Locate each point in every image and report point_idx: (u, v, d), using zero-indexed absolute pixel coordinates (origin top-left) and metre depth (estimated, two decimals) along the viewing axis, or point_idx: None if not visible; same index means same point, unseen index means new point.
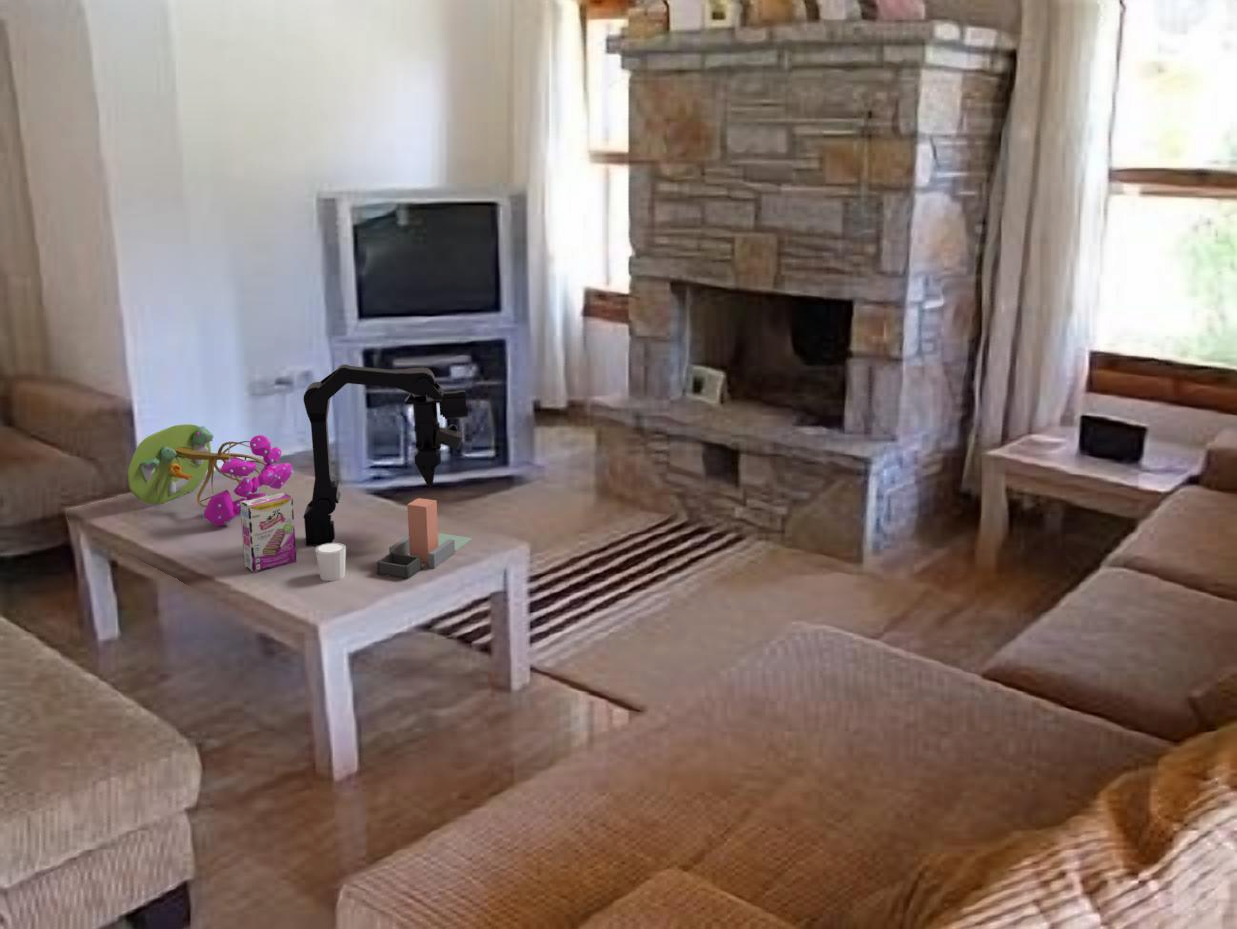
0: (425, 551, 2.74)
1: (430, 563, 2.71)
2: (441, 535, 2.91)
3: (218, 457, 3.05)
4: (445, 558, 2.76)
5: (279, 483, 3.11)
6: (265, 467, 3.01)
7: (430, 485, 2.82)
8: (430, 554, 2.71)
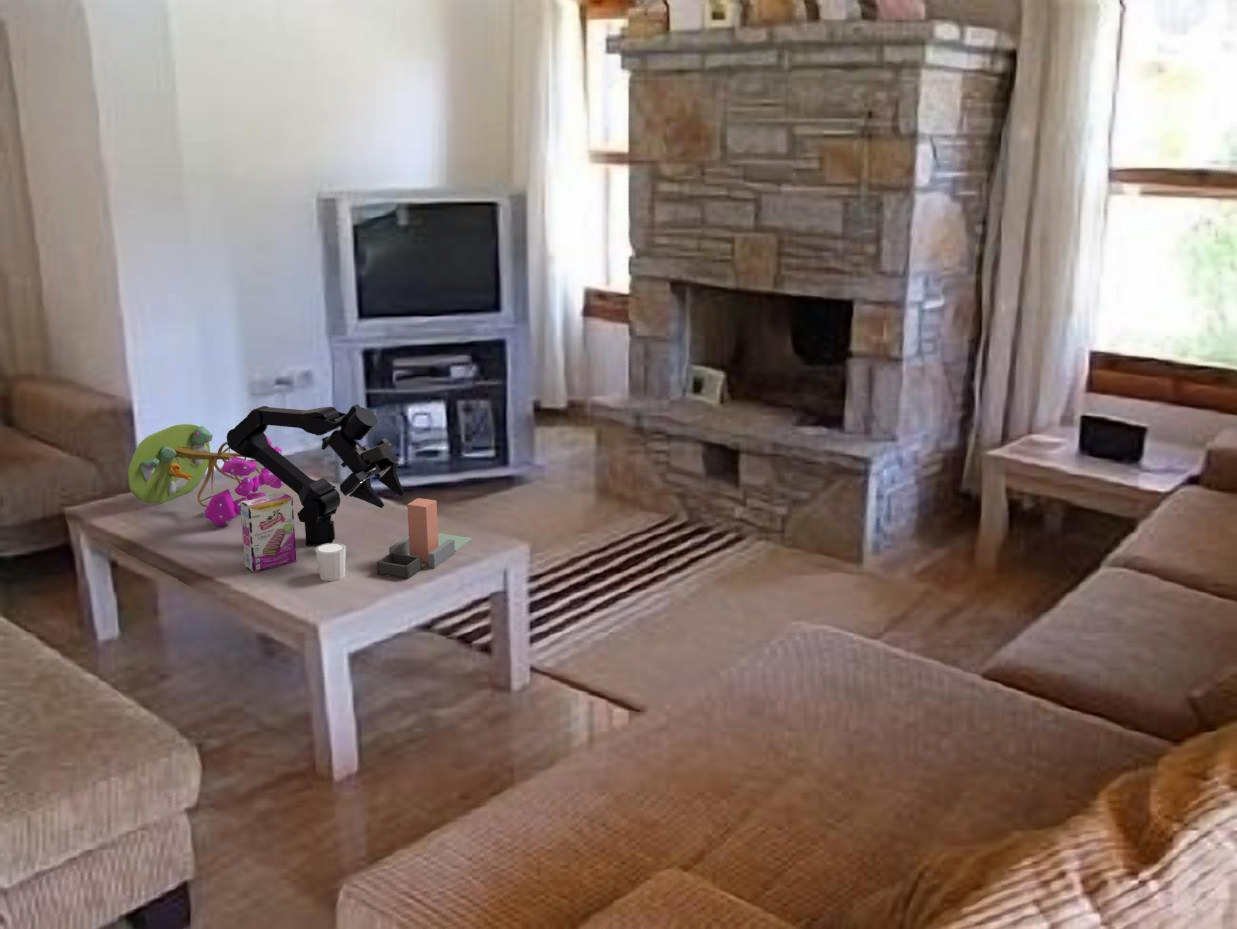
0: (425, 551, 2.74)
1: (430, 563, 2.71)
2: (441, 535, 2.91)
3: (218, 457, 3.05)
4: (445, 558, 2.76)
5: (279, 482, 3.11)
6: None
7: (381, 505, 2.72)
8: (430, 554, 2.71)
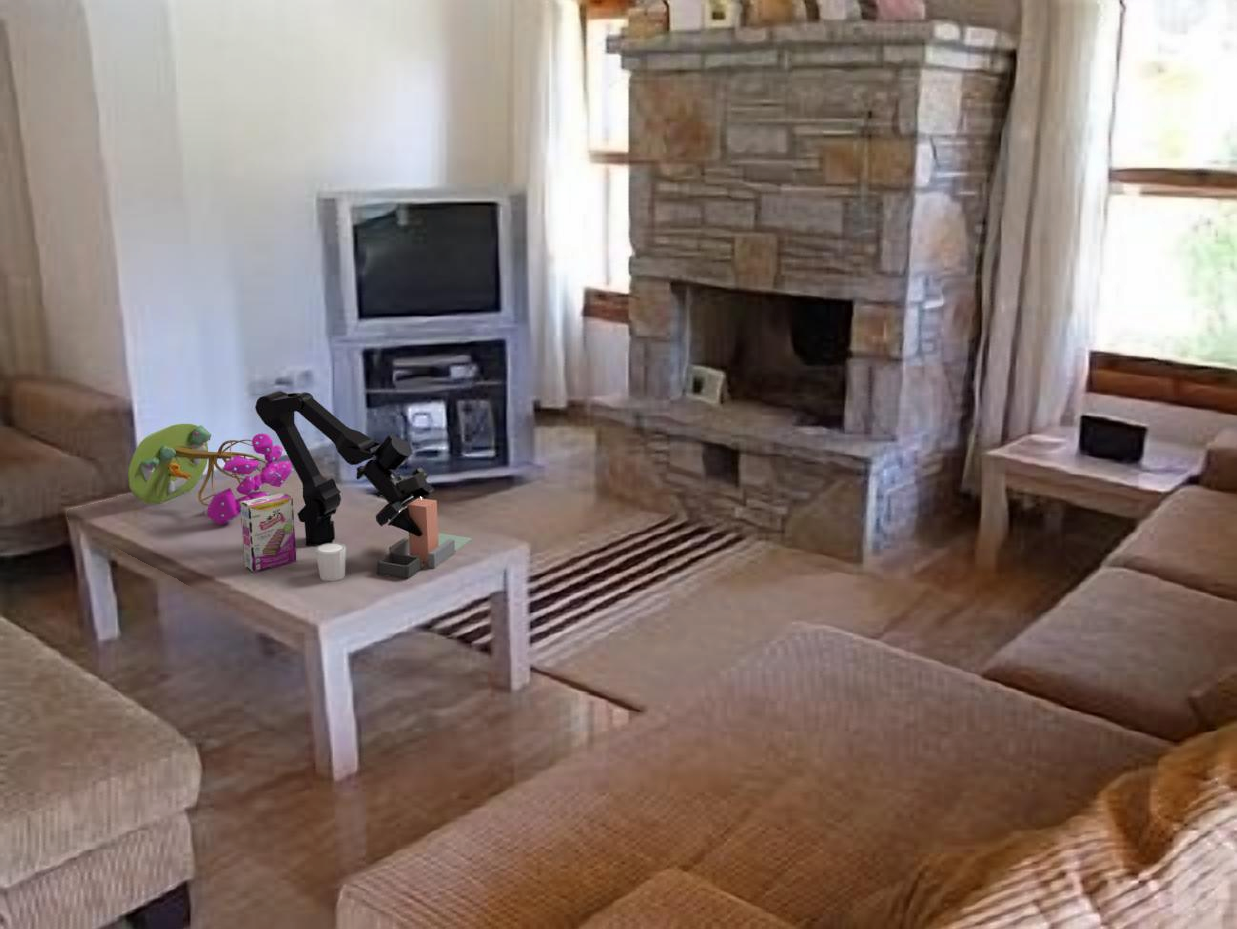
0: (425, 551, 2.74)
1: (430, 563, 2.71)
2: (441, 535, 2.91)
3: (218, 456, 3.06)
4: (445, 558, 2.76)
5: (279, 481, 3.12)
6: (266, 465, 3.03)
7: (419, 534, 2.72)
8: (430, 554, 2.71)
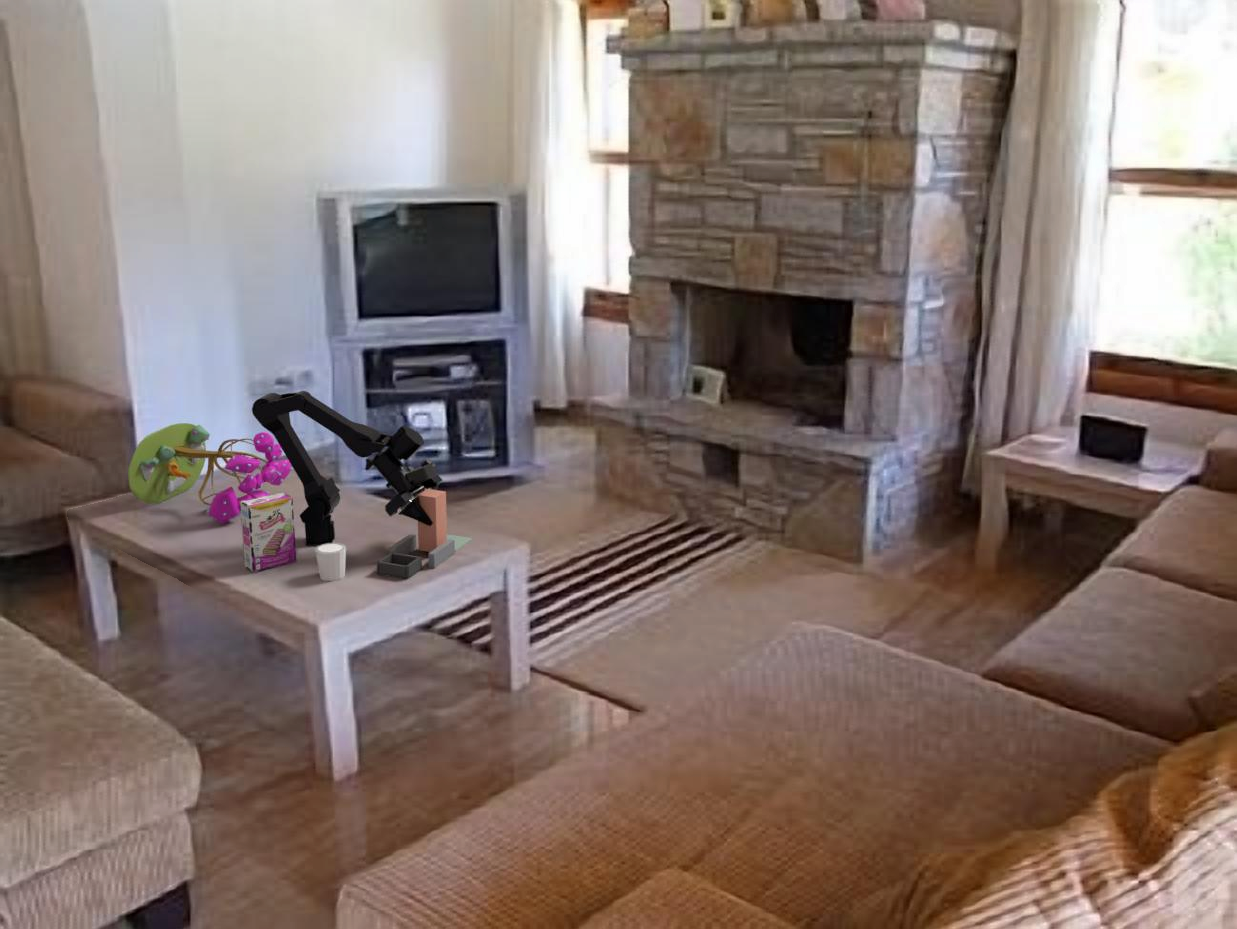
0: (434, 541, 2.77)
1: (430, 563, 2.71)
2: None
3: (218, 455, 3.07)
4: (445, 558, 2.76)
5: (279, 480, 3.13)
6: (267, 464, 3.04)
7: (429, 523, 2.76)
8: (430, 554, 2.71)
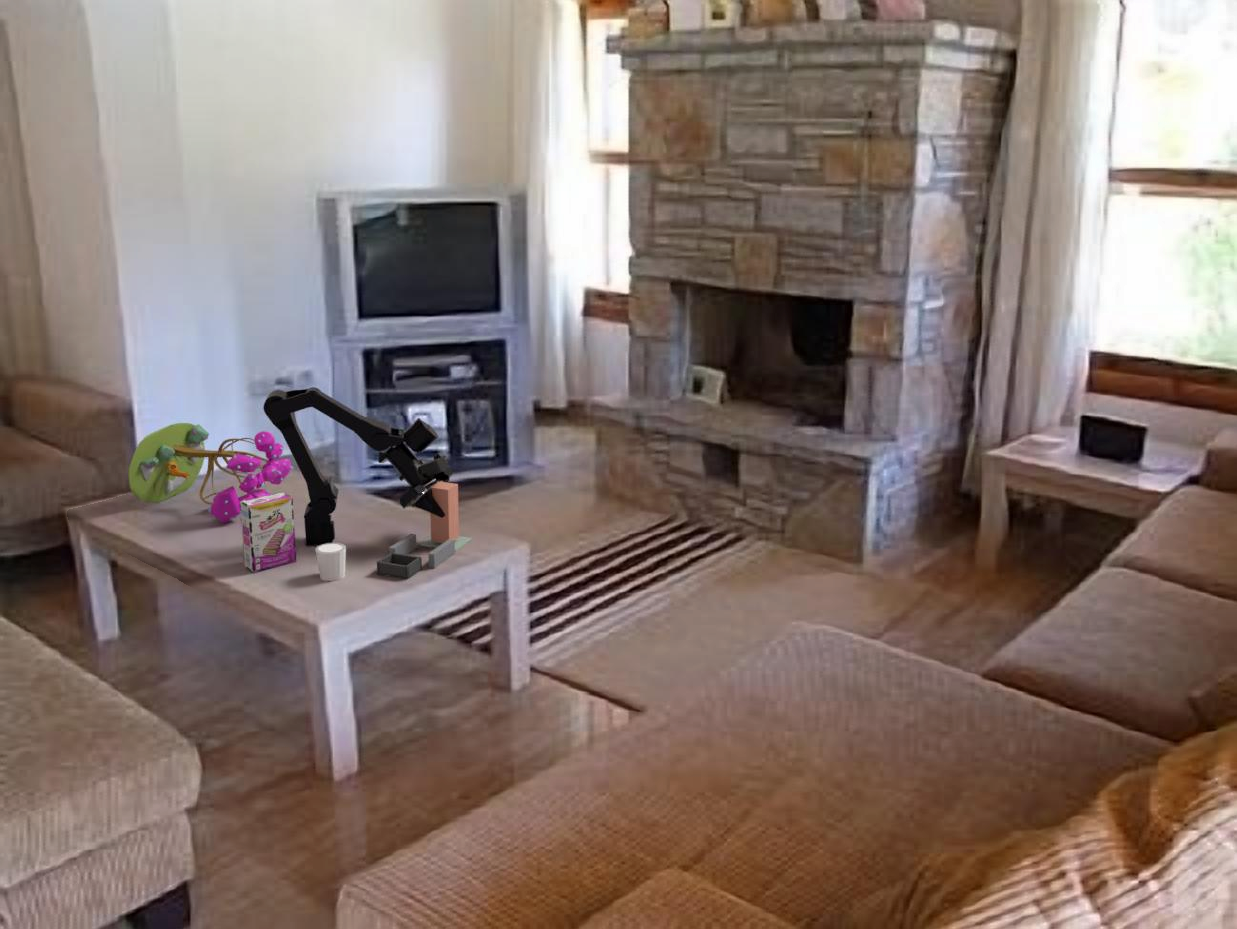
0: (446, 533, 2.83)
1: (430, 563, 2.71)
2: None
3: (219, 454, 3.07)
4: (445, 558, 2.76)
5: (279, 479, 3.14)
6: (268, 463, 3.05)
7: (442, 515, 2.81)
8: (430, 554, 2.71)
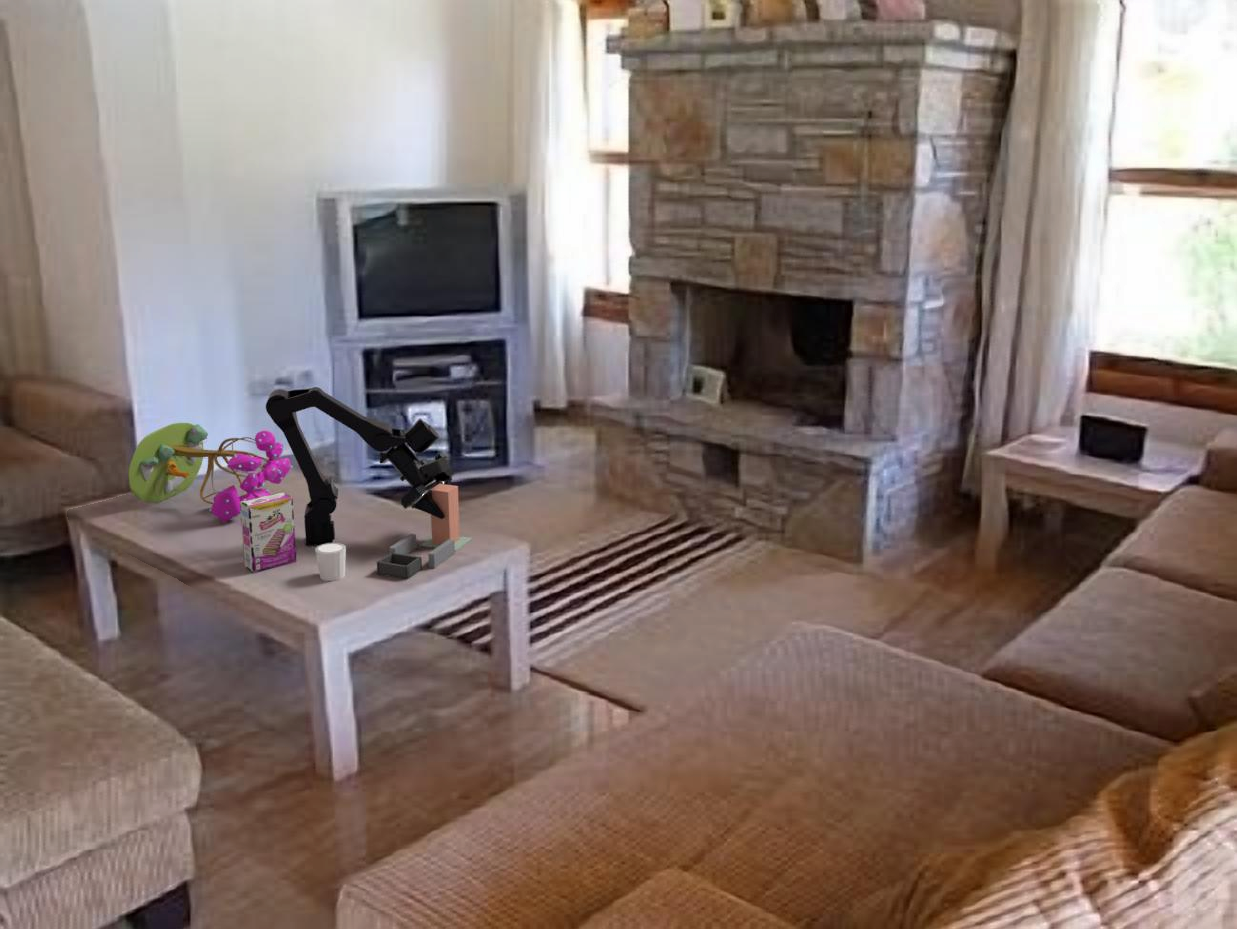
0: (447, 535, 2.84)
1: (430, 563, 2.71)
2: None
3: (218, 454, 3.08)
4: (445, 558, 2.76)
5: (279, 478, 3.15)
6: (268, 462, 3.05)
7: (441, 516, 2.81)
8: (430, 554, 2.71)
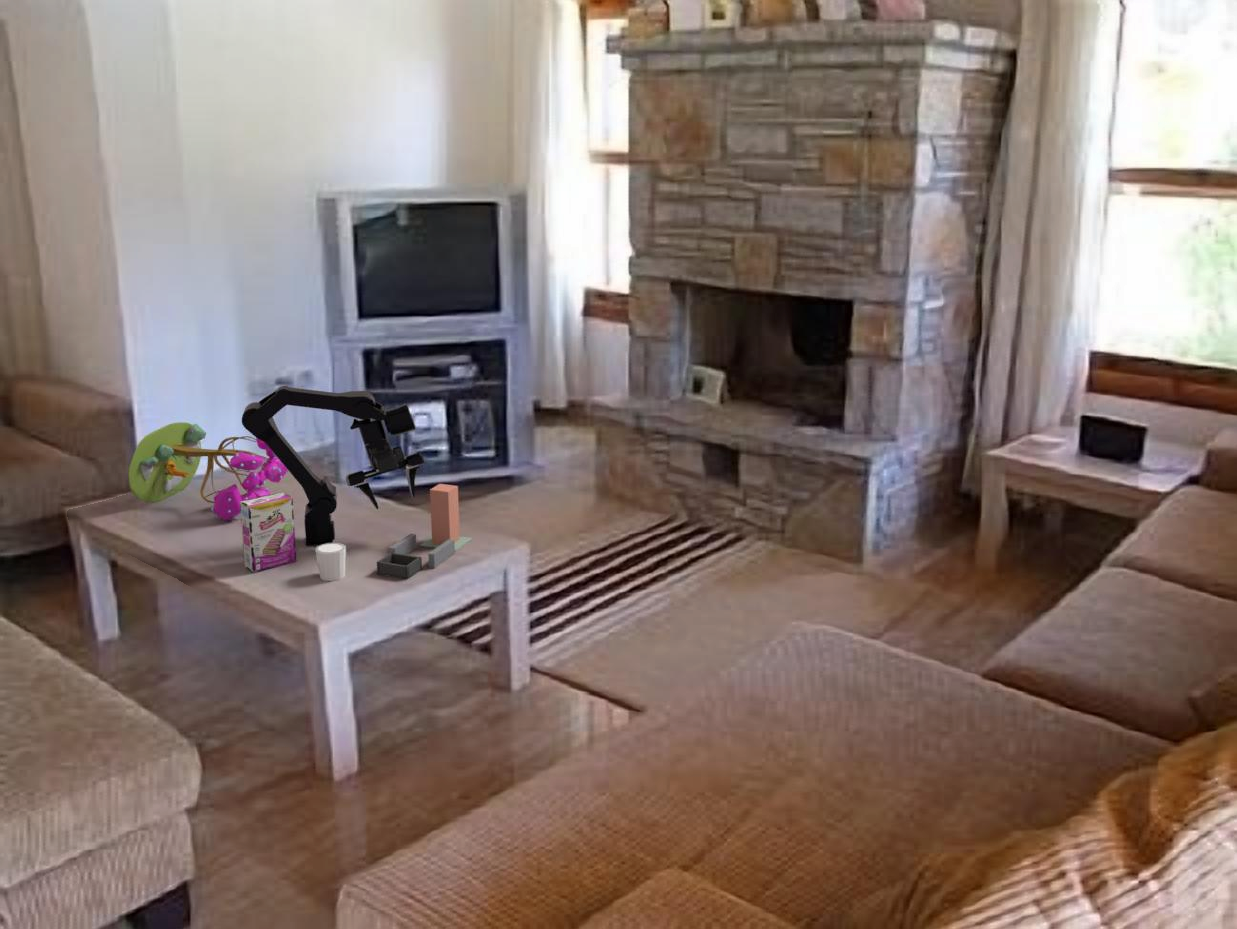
0: (447, 535, 2.84)
1: (430, 563, 2.71)
2: None
3: (218, 453, 3.09)
4: (445, 558, 2.76)
5: (278, 476, 3.16)
6: (269, 461, 3.06)
7: (375, 507, 2.82)
8: (430, 554, 2.71)
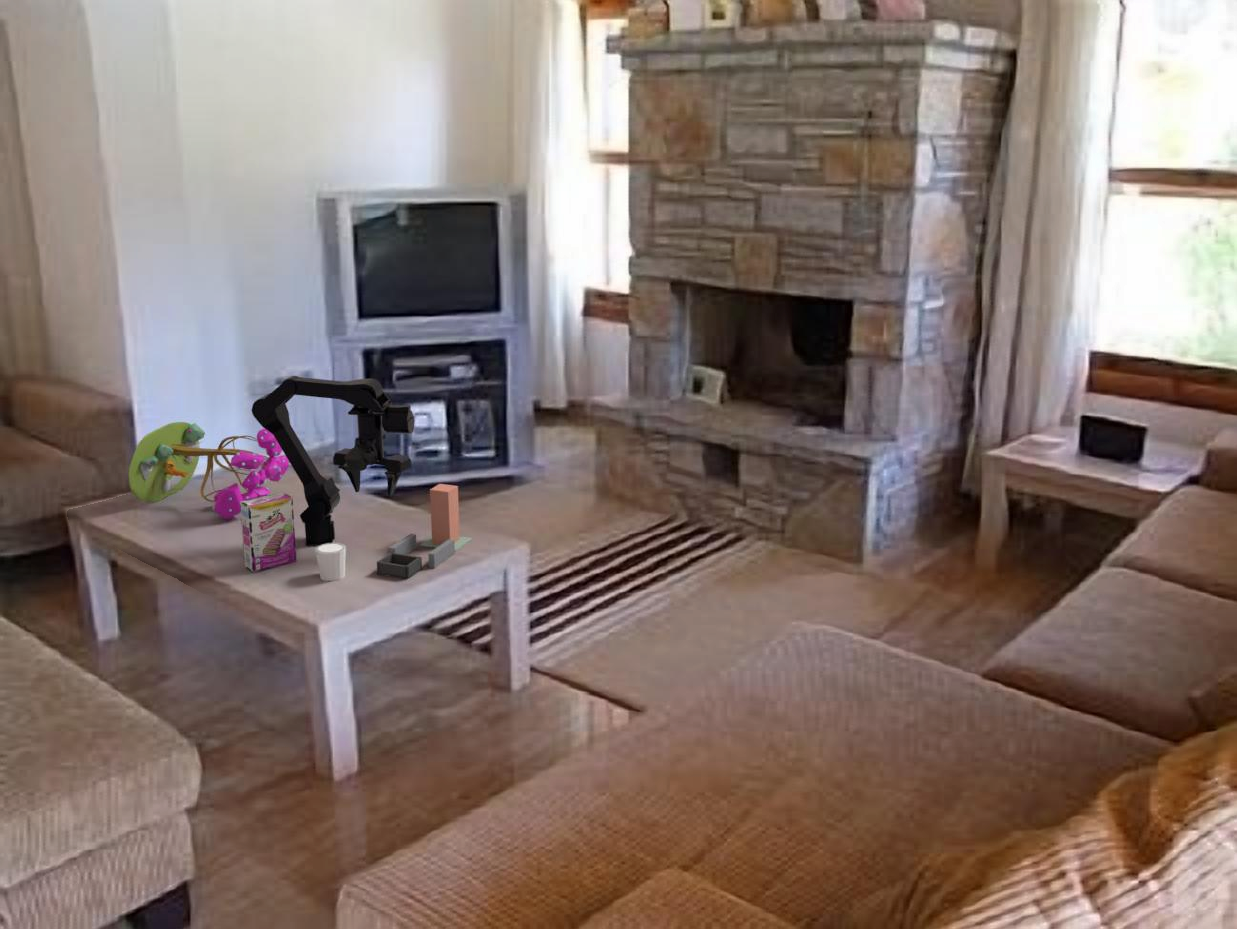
0: (447, 535, 2.84)
1: (430, 563, 2.71)
2: None
3: (218, 452, 3.09)
4: (445, 558, 2.76)
5: (278, 476, 3.17)
6: (269, 460, 3.07)
7: None
8: (430, 554, 2.71)
